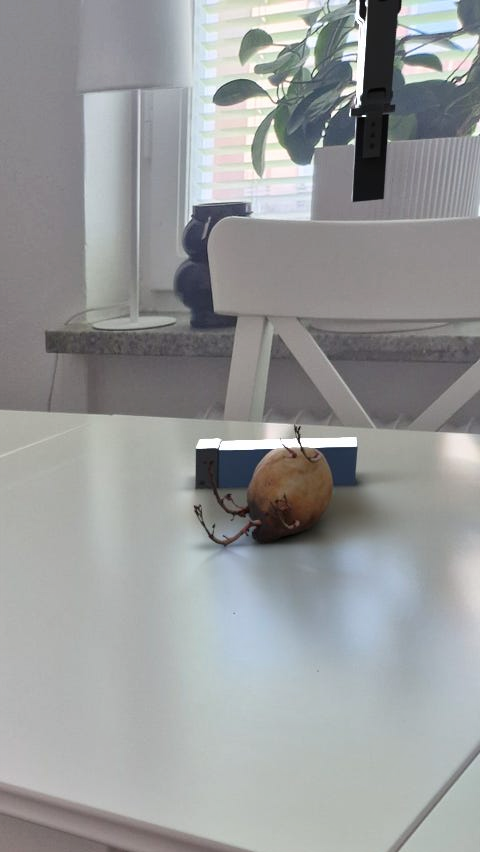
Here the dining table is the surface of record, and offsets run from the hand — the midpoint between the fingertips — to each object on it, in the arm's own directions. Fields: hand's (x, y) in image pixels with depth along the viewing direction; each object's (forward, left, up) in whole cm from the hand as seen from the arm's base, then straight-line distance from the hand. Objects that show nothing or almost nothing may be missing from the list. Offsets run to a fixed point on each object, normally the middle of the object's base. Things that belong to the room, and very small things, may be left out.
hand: (367, 200), depth 105 cm
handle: (+7, +14, -22) cm, 27 cm away
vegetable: (+8, +26, -22) cm, 35 cm away
